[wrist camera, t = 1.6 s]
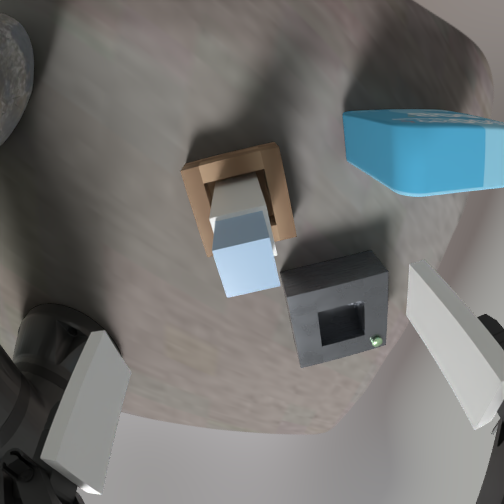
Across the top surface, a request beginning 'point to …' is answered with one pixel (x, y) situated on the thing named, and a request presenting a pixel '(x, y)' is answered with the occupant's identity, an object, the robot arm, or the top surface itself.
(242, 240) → the plug
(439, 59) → the top surface
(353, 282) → the port
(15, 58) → the grey metal pot
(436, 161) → the data package
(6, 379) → the robot arm
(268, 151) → the frame
